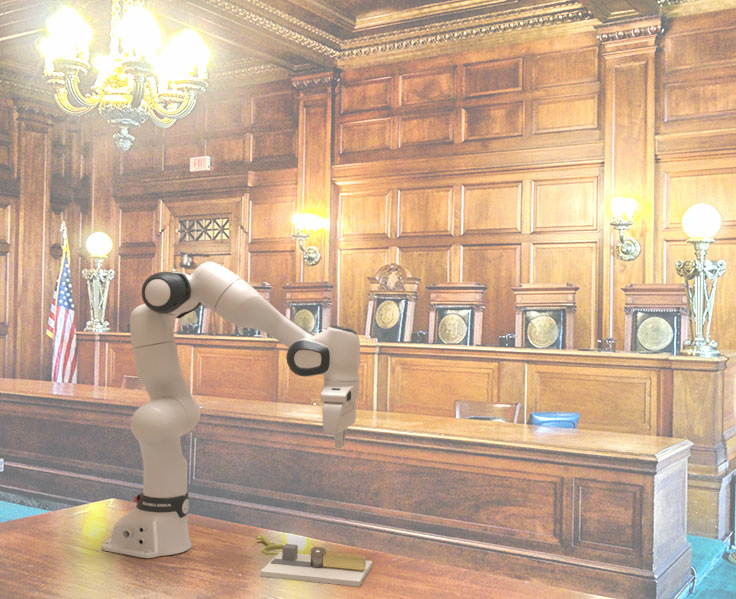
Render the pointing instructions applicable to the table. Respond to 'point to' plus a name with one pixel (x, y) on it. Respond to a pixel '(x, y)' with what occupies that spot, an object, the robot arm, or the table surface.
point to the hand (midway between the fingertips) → (339, 446)
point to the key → (269, 546)
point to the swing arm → (336, 559)
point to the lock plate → (311, 569)
